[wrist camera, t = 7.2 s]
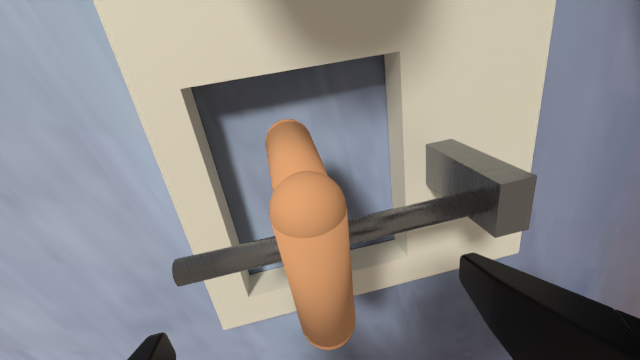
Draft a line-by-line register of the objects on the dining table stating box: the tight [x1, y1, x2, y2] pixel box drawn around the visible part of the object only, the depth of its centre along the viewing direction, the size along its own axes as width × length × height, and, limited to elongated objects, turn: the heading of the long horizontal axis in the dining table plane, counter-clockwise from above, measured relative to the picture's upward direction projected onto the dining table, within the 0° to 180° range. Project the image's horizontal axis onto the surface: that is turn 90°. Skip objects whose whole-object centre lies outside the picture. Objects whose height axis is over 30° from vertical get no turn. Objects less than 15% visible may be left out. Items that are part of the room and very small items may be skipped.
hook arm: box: [172, 139, 537, 286], centre depth 13 cm, size 14×2×6 cm, turn 99°
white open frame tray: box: [93, 0, 556, 330], centre depth 17 cm, size 20×18×2 cm
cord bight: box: [266, 119, 355, 350], centre depth 12 cm, size 2×8×6 cm, turn 9°
